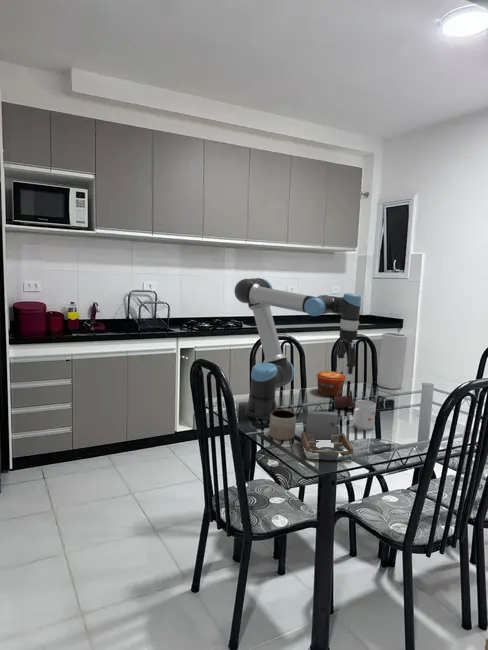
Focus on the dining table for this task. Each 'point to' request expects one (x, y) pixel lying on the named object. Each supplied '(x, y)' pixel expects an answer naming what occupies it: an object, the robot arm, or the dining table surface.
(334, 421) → the door
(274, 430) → the planter
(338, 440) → the carcass
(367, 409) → the mug
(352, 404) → the bracket
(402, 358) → the vase
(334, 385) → the food container
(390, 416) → the dining table surface
